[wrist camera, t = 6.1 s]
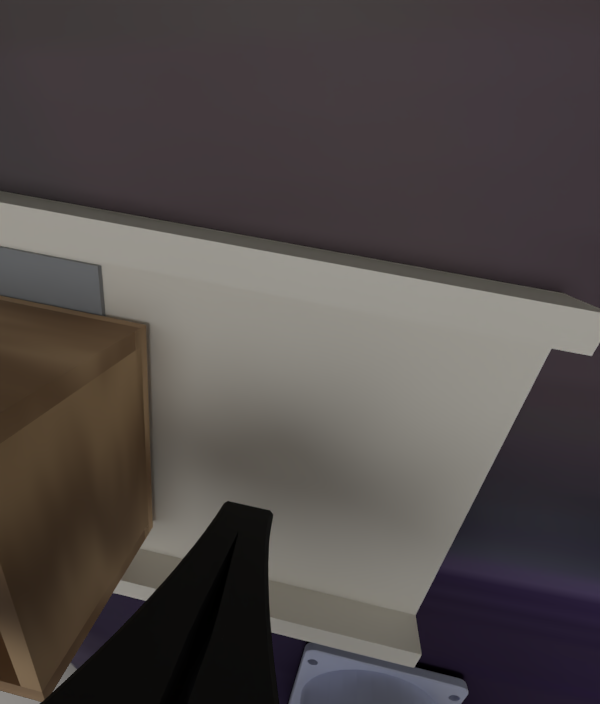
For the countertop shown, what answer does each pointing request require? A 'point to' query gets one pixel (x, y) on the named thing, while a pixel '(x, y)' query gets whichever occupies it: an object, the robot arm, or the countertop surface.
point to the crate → (66, 481)
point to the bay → (304, 400)
